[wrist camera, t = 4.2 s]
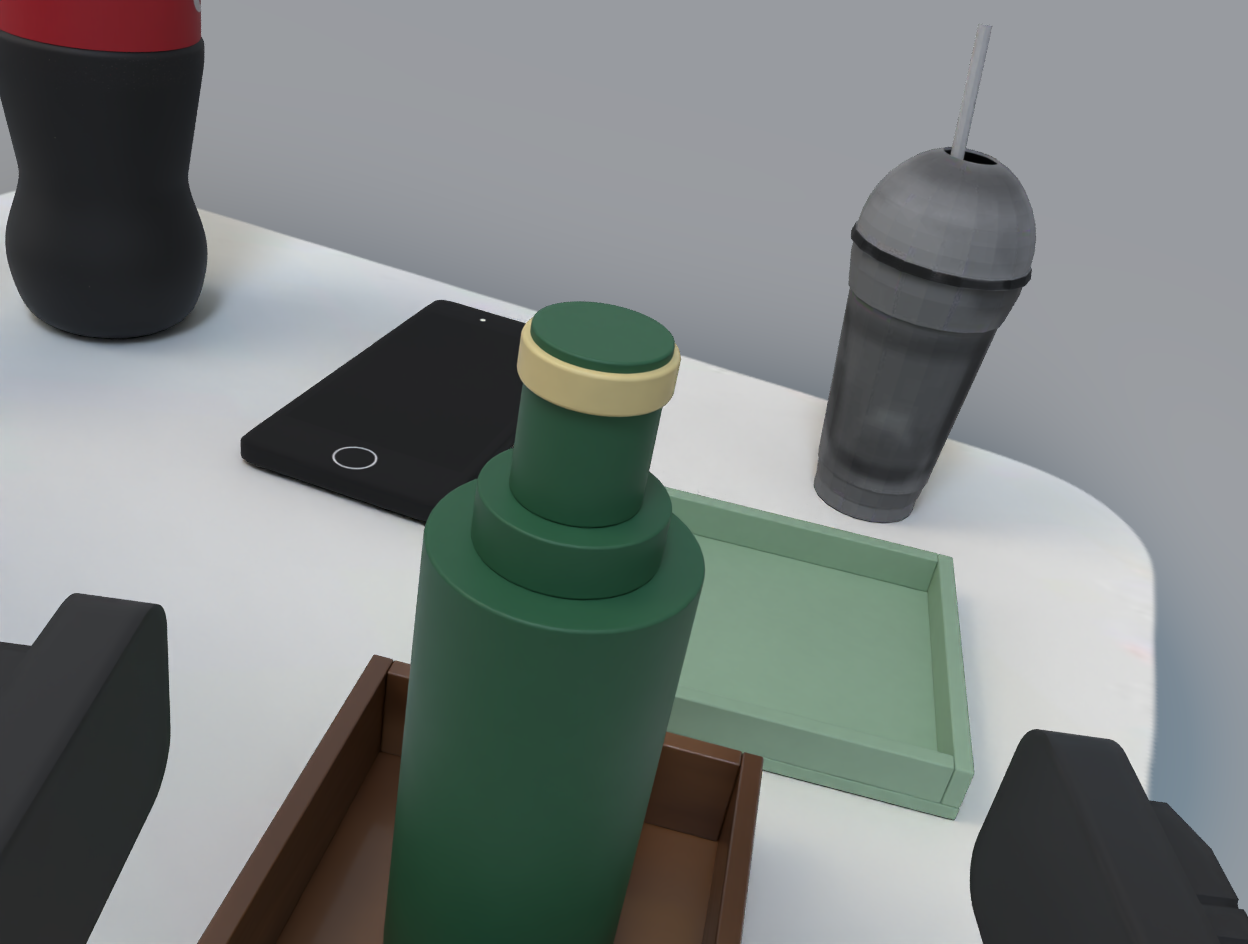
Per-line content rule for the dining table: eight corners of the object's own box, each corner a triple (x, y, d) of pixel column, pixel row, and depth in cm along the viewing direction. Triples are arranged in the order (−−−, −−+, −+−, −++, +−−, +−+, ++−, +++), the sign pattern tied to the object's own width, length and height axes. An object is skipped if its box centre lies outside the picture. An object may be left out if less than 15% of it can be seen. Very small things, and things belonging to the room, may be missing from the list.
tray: (450, 688, 38) (455, 639, 37) (543, 500, 48) (550, 457, 47) (954, 820, 36) (975, 773, 35) (937, 598, 47) (953, 556, 46)
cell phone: (235, 460, 47) (234, 439, 46) (437, 313, 62) (438, 296, 61) (439, 529, 45) (441, 508, 44) (595, 360, 60) (598, 343, 60)
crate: (170, 1096, 25) (165, 992, 24) (366, 745, 35) (373, 653, 33) (680, 1248, 24) (715, 1152, 23) (737, 845, 34) (764, 756, 32)
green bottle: (346, 1004, 27) (399, 354, 19) (427, 827, 32) (496, 247, 24) (582, 1072, 27) (741, 436, 18) (627, 882, 32) (770, 310, 23)
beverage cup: (861, 555, 49) (1025, 56, 39) (750, 467, 53) (871, 3, 43) (976, 521, 53) (1152, 62, 43) (863, 442, 58) (997, 13, 48)
